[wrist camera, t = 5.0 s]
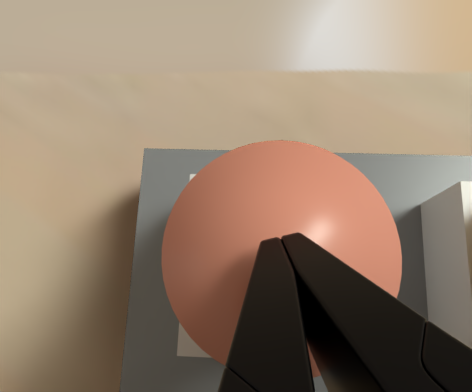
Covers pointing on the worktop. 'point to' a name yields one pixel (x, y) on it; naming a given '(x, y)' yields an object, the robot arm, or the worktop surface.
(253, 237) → the button brick
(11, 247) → the worktop surface
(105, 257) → the worktop surface
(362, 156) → the control box
